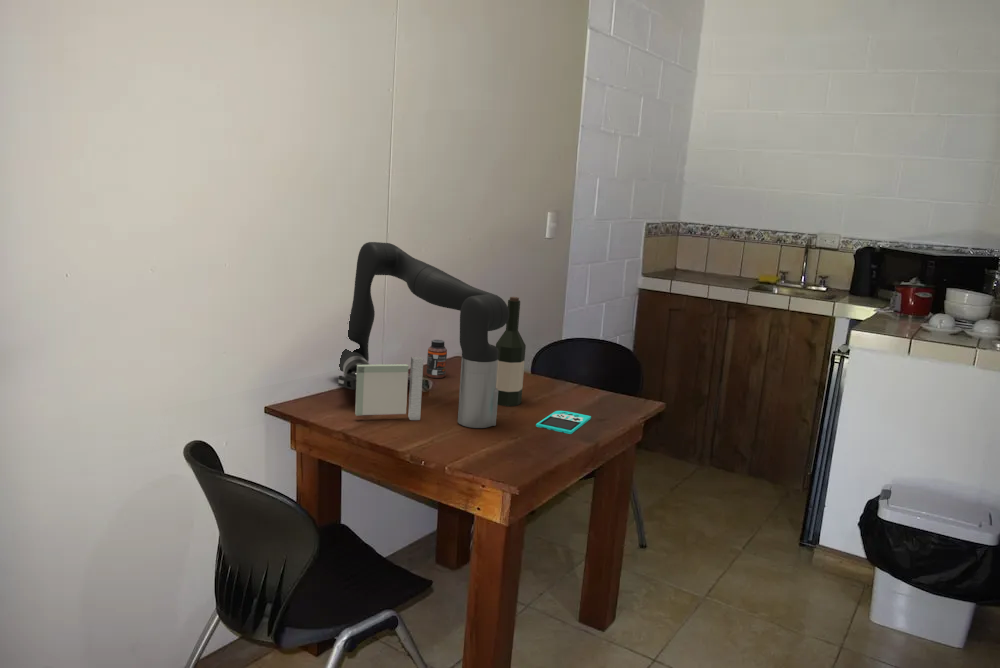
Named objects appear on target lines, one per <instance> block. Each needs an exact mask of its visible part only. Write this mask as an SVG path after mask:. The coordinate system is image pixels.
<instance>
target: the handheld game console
mask: <svg viewBox="0 0 1000 668" xmlns="http://www.w3.org/2000/svg"><path fill="white" fill-rule="evenodd" d="M591 419H592V416H591V415H587V414H582V413H577V412H572V411H568V410H567V411H566V410H555V411H553V412H552V413H550V414H549V415H548V416H545V418H543V419H542V420H540V421H538V422H537V423H536V424H535V427H537V428H542V429H545V430H549V431H554V432H559V433H564V434H569V435H572V434H573V433H574V432H576V431H577V430H578V429H579V428H581V427H582V426H583V425H585V424H586V423H587V422H590V420H591Z"/></svg>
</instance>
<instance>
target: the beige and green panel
mask: <svg viewBox="0 0 1000 668" xmlns="http://www.w3.org/2000/svg"><path fill="white" fill-rule="evenodd" d="M409 368H410V367H409V364H407V363H406V364H405V363H404V364H402V363H401V364H400V363H399V364H397V363H395V364H394V363H393V364H391V363H390V364H386V363H385V364H369V365H357V375H356V390H355V403H354V404H355V408H354V409H355V410H354V411H355V412H354V414H355V416H356V417H357V416H377V415H378V416H379V415H380V416H381V415H383V416H384V415H407V404H408V403H407V400H408V382H409V381H408V380H409Z"/></svg>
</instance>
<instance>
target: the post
mask: <svg viewBox="0 0 1000 668" xmlns="http://www.w3.org/2000/svg"><path fill="white" fill-rule="evenodd" d="M409 373H410V375H409V392H408V393H409V394H408V396H409V397H408V415H407V417H408V419H409V420H410V421H420V420H421V413H422V412H421V411H422V393H423V373H424V359H423V357H422V356H411V357H410V372H409Z"/></svg>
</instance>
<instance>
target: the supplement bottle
mask: <svg viewBox="0 0 1000 668" xmlns="http://www.w3.org/2000/svg"><path fill="white" fill-rule="evenodd" d="M447 356H448V349H447V348H446V346H445V340H442V339H432V340H431V344H430V346H429V347H428V349H427V357H426V359H427V361H426V376H427V377H429V378H432V379H443V378H445V377H446V373H447V358H448V357H447Z"/></svg>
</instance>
